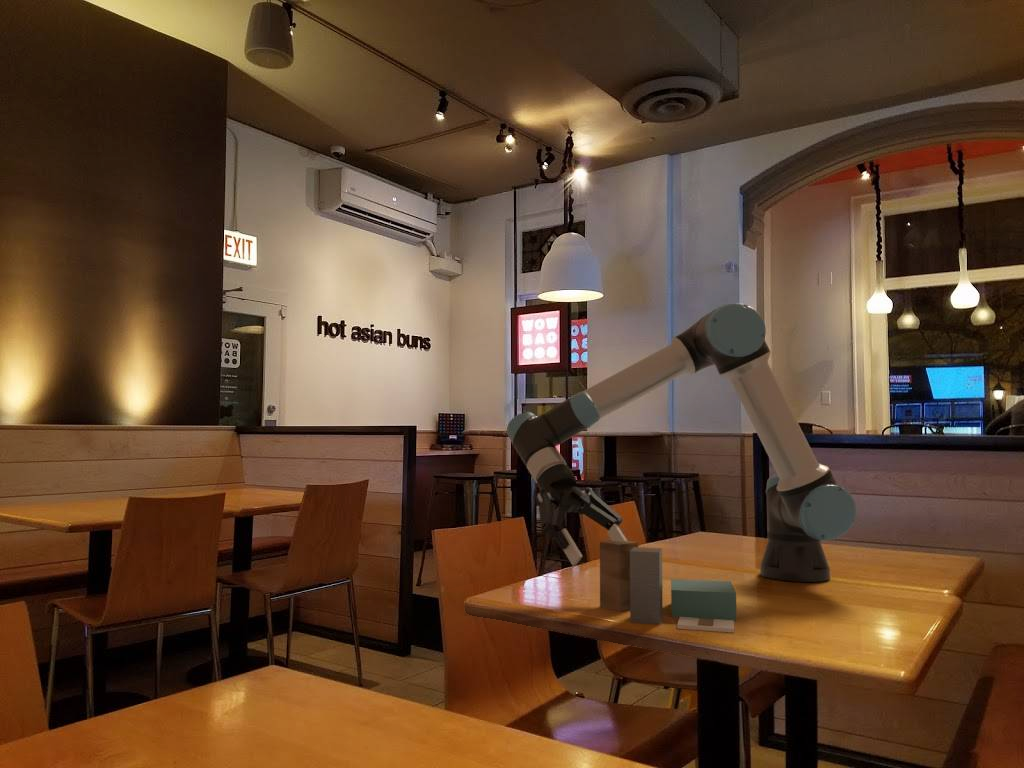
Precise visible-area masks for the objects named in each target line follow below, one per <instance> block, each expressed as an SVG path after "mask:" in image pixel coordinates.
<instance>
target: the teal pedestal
mask: <svg viewBox="0 0 1024 768" xmlns="http://www.w3.org/2000/svg"><path fill="white" fill-rule="evenodd" d="M670 594H671V595H670V597H671V598H670V601H671V602H670V605H671V618H678V619H679V618H680V617H691V618H707V619H720V620H734V621H737V616H738V615H737V612H738V610H737V592H736V589H735V588H734V585H733V583H732V581H731V580H730V581H729V580H708V579H707V580H705V579H681V578H679V579H678V578H670Z"/></svg>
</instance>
